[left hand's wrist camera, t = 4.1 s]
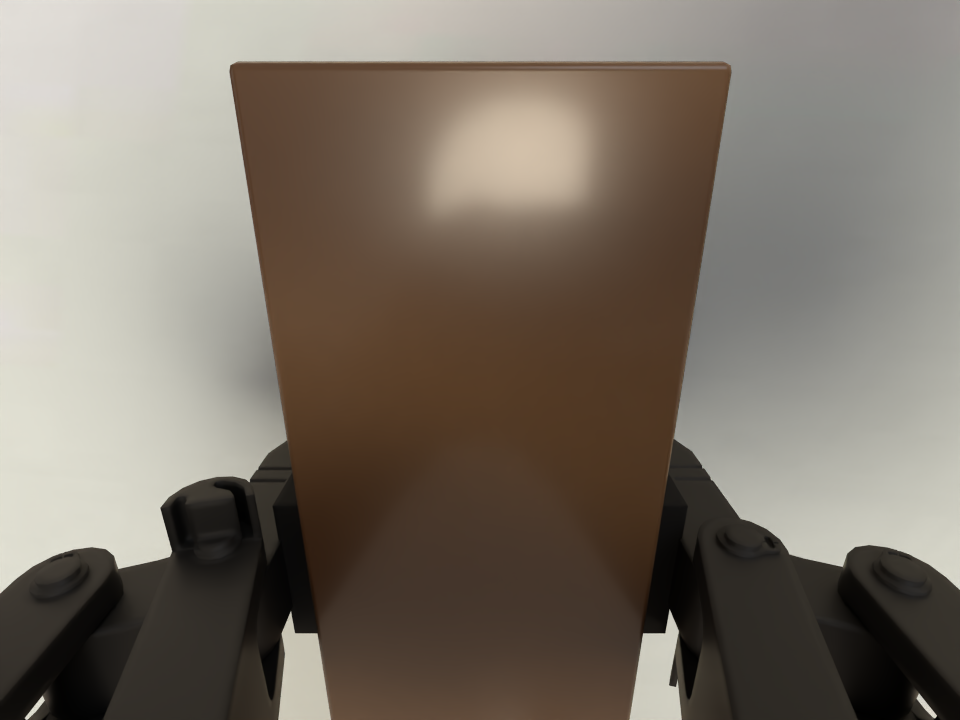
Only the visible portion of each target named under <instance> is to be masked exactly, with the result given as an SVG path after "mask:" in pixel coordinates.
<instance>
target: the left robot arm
mask: <svg viewBox="0 0 960 720" xmlns="http://www.w3.org/2000/svg"><path fill="white" fill-rule="evenodd" d="M161 512H162V516H163V519H164V523H165V527H166V530H167V534H168V538H169V541H170V545H171V548H172V554H171V556H170V557H168V558H165V559H161V560H158V561H153V562H149V563H144V564H140V565H135V566H130V567H126V568H121V569H118V567H117V564H116V561H115V558H114V556H113V555H112V554H111V553H110V552H108V551H107V550H106V549H100V548H93V547H91V548H83V549H76V550H71V551H68V552H64V553H61V554H58V555H56V556H53V557H51V558H49V559H47V560H45V561H43V562H41V563H39V564H37V565H35V566H33V567H32V568H30V569H29V570H28V571H26V572H25V573H24V574H22V575H21V576H20V577H18V578H17V579H16V580H15V581H14V582H12V583H11V584H10V585H9V586H8V587H7V588H6V589H5V590H4V591H3V592H2V593H1V594H0V720H26V719H25V717H26V716H27V714H28V713H29V712H30V711H31V709H32V708H33V707H34V706H35V704H36V703H37V702H38V700H39V699H40V698H41V697H42V695H43V697H44V699H45V701H44V702H43V704H42V705H41V706H40V708H39V709H38V710H37V711H36V712H35V713H34V714H33V715H32V716H31V717H30V718H29V719H28V720H278V717H279V707H280V697H281V687H282V677H283V667H284V657H285V652H284V645H283V639H282V634H281V633H282V631H283V628H284V626H285V624H286V621H287V619H288V616H289V614H290V612H291V613H292V618H293V624H294V630H295V633H318V632H317V626H316V620H315V613H314V607H313V601H312V594H311V588H310V581H309V575H308V569H307V562H306V556H305V549H304V543H303V537H302V530H301V524H300V518H299V511H298V505H297V498H296V492H295V486H294V479H293V473H292V467H291V460H290V454H289V447H288V441H286V442H284V443H283V444H281V445H280V446H278V447H277V448H275V449H274V450H273V451H271V452H270V453H269V454H268V455H267V456H266V458H265V459H264V461H263V462H262V463H261V465H260V466H259V470H256V472H255V473H254V475H253V476H252V477H251V479H250V482H248V481H247V480H245V479H241V478H237V477H215V478H211V479H207V480H202V481H199V482H196V483H194V484H191V485H189V486H187V487H184V488H182V489H181V490H179V491H178V492H176V493H175V494H173V495H172V496H170V497H169V498H168V499H167V500H166V502H165V503H164V504H163V505H162V507H161ZM669 609H670V611H671V613H672V615H673V618H674V620H675V623H676V625H677V627H678V630H679V634H678V639H677V644H676V650H675V655H674V660H673V665H672V670H671V676H670V683H669V685H670V686H674V687H676V684H677V679H678V686H679V696H680V705H681V715H682V720H960V590H959V589H958V588H957V587H956V586H955V585H954V584H953V583H952V582H950V581H949V580H948V579H947V578H946V577H945V576H943V575H942V574H941V573H939V572H938V571H937V570H935V569H934V568H933V567H931V566H930V565H929V564H927V563H925V562H923V561H921V560H919V559H917V558H915V557H913V556H911V555H909V554H906V553H904V552H901V551H897V550H894V549H890V548H887V547H879V546H871V545H867V546H861V547H855V548H854V549H853V550H851V551H850V552H849V553H848V554H847V556H846V559H845V562H844V565H843V567H840V566H835V565H831V564H826V563H822V562H817V561H812V560H808V559H803V558H800V557H796V556H793V555H789V553H788V550H787V549H786V548H785V546H784V545H783V543H782V542H781V540H780V539H778V538H777V537H776V536H775V535H773V534H772V533H771V532H770V531H768V530H767V529H765V528H763V527H761V526H759V525H757V524H754V523H752V522H750V521H746V520H742V519H740V518H739V516H738V515H737V514H736V512H735V511H734V510H733V508H732V507H731V505H730V504H729V503H728V501H727V500H726V498H725V497H724V496H723V494H722V493H721V491H720V490H719V489H718V487H717V486H716V484H715V483H714V482H713V481H711V477H710V476H709V475H708V473H707V472H706V470H705V469H702V465H701V464H700V462H699V461H698V459H697V458H696V457H695V455H694V454H693V452H692V451H690V450H689V449H688V448H686V447H685V446H683V445H682V444H680V443H679V442H677V441H676V440H674V439H673V446H672V452H671V458H670V465H669V471H668V477H667V484H666V490H665V496H664V503H663V509H662V516H661V522H660V528H659V535H658V541H657V547H656V554H655V560H654V566H653V573H652V579H651V585H650V592H649V598H648V604H647V611H646V617H645V623H644V630H643V633H665V631H666V626H667V620H668V615H669ZM918 694H920V695H921V696H922V697H923V699H924V700H925V701H926V702H927V704H928V705H929V706H930V707H931V709H932V710H933V711H934V712H935V714H936V715H937V717H936V718H933V717H932V716H931V715H930V714H929V713H928V712H927V711H926V710H925V709H924V708H923V707H922V705H921V704H920V703H919V701H918V700H917V699H916V698H917V696H918Z"/></svg>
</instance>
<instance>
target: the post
mask: <svg viewBox="0 0 960 720" xmlns="http://www.w3.org/2000/svg"><path fill="white" fill-rule="evenodd" d="M730 77H731V65H729V64H727V63H725V62H236V63H234V64H232V65H230V78H231V84H232V90H233V97H234V103H235V109H236V116H237V122H238V129H239V135H240V141H241V148H242V154H243V160H244V167H245V173H246V180H247V186H248V192H249V199H250V205H251V211H252V218H253V224H254V231H255V237H256V243H257V250H258V256H259V262H260V269H261V275H262V282H263V288H264V294H265V301H266V307H267V313H268V320H269V326H270V333H271V339H272V345H273V352H274V358H275V365H276V371H277V377H278V384H279V390H280V396H281V403H282V409H283V416H284V422H285V428H286V435H287V441H288V447H289V454H290V460H291V467H292V473H293V479H294V486H295V492H296V498H297V505H298V511H299V518H300V524H301V530H302V537H303V543H304V549H305V556H306V562H307V569H308V575H309V581H310V588H311V594H312V601H313V607H314V613H315V620H316V626H317V632H318V639H319V645H320V652H321V658H322V664H323V671H324V677H325V683H326V690H327V696H328V703H329V709H330V715H331V720H629V719H630V712H631V706H632V700H633V693H634V687H635V681H636V674H637V668H638V662H639V655H640V649H641V643H642V636H643V630H644V623H645V617H646V611H647V604H648V598H649V592H650V585H651V579H652V573H653V566H654V560H655V554H656V547H657V541H658V535H659V528H660V522H661V516H662V509H663V503H664V496H665V490H666V484H667V477H668V471H669V465H670V458H671V452H672V446H673V439H674V433H675V427H676V420H677V414H678V408H679V401H680V395H681V389H682V382H683V376H684V370H685V363H686V357H687V350H688V344H689V338H690V331H691V325H692V319H693V312H694V306H695V300H696V293H697V287H698V281H699V274H700V268H701V262H702V255H703V249H704V243H705V236H706V230H707V223H708V217H709V211H710V204H711V198H712V192H713V185H714V179H715V173H716V166H717V160H718V154H719V147H720V141H721V135H722V128H723V122H724V116H725V109H726V103H727V97H728V90H729V84H730Z"/></svg>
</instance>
